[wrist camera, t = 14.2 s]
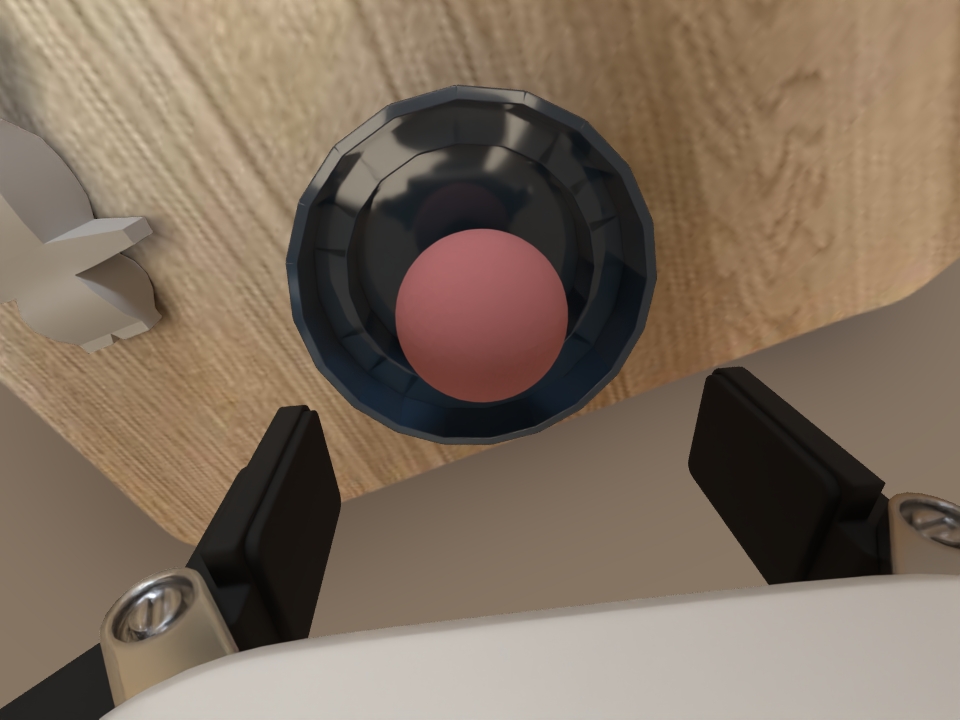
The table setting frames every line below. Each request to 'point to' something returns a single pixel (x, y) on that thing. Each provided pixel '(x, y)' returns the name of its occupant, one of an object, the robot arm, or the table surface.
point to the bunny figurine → (66, 252)
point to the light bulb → (481, 315)
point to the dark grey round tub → (458, 207)
